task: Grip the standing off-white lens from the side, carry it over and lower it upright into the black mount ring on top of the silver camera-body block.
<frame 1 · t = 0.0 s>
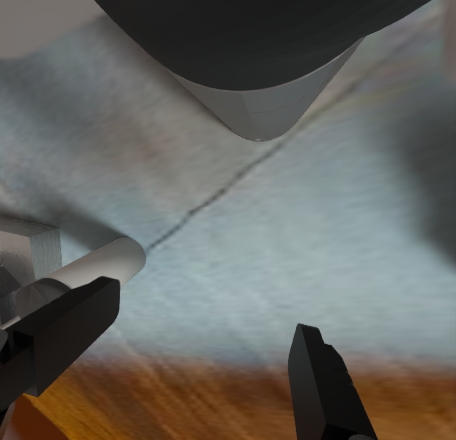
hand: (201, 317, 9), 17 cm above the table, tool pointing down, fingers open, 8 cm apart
camera body: (26, 276, 34), on the table
lens: (127, 255, 30), on the table
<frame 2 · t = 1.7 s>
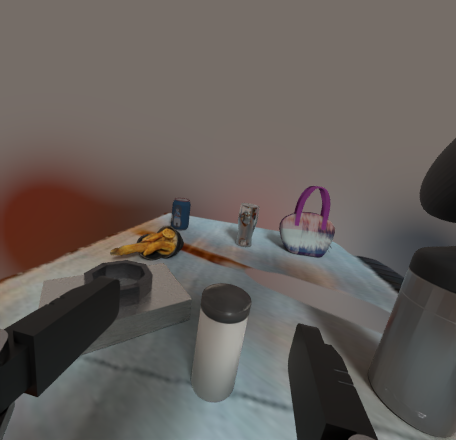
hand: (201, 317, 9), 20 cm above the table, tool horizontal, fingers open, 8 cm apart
handbag: (302, 251, 81), on the table
beer glass: (243, 244, 78), on the table
camera body: (118, 310, 36), on the table
lens: (212, 378, 27), on the table
fried food: (151, 257, 57), on the table
soda can: (179, 228, 85), on the table
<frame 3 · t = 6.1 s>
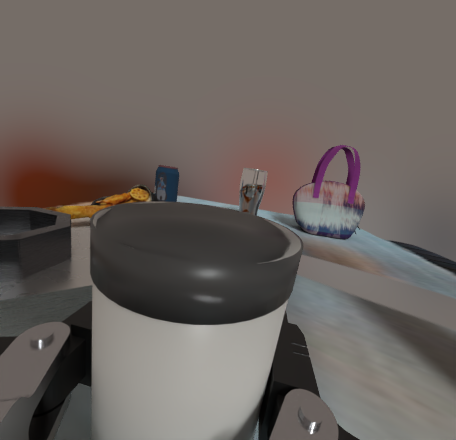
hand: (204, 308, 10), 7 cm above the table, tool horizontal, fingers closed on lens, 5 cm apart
handbag: (321, 233, 63), on the table
beer glass: (245, 223, 60), on the table
camera body: (3, 298, 18), on the table
fried food: (113, 229, 39), on the table
soda can: (165, 204, 68), on the table
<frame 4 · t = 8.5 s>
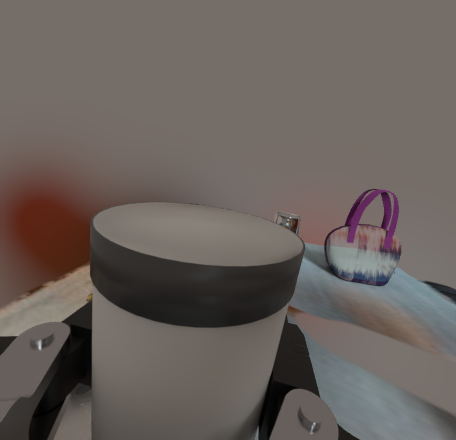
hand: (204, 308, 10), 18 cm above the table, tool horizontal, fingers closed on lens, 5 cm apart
handbag: (353, 276, 61), on the table
beer glass: (276, 267, 58), on the table
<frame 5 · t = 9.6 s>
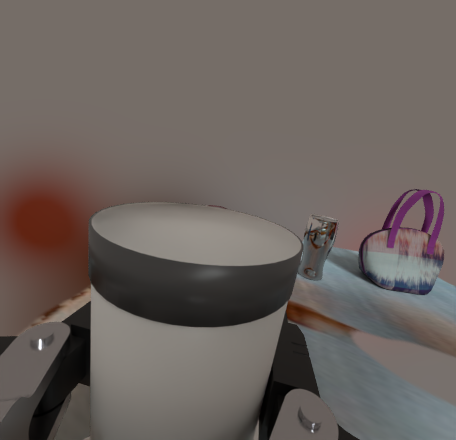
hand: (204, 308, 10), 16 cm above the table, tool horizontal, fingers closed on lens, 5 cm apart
handbag: (390, 283, 56), on the table
beer glass: (309, 275, 53), on the table
when the fingers open (12 cm above the table, at t = 10.8 s): lens drops 1 cm, resting on camera body.
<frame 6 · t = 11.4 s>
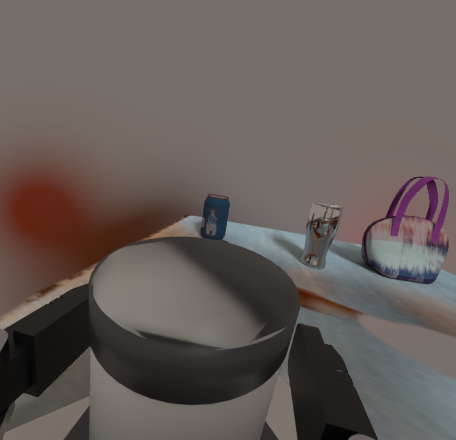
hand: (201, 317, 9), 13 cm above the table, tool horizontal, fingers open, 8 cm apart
handbag: (394, 273, 55), on the table
beer glass: (311, 263, 53), on the table
soda can: (212, 238, 60), on the table
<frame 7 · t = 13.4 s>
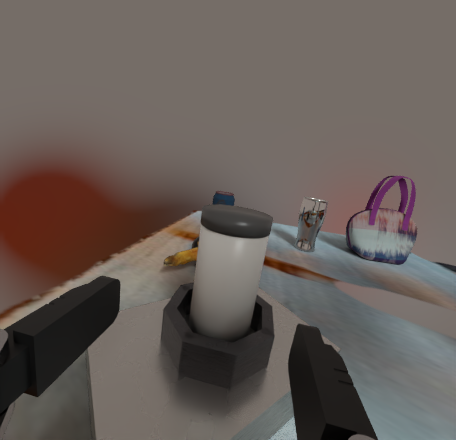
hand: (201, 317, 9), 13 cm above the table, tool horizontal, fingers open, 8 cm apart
handbag: (373, 256, 66), on the table
beer glass: (303, 248, 63), on the table
camera body: (211, 368, 21), on the table
lens: (217, 335, 20), point 4 cm above the table, touching camera body
fried food: (209, 267, 42), on the table
soda can: (219, 228, 70), on the table
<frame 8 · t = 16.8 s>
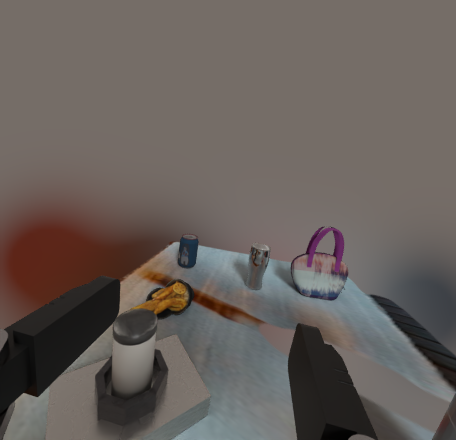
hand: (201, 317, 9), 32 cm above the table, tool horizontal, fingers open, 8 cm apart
handbag: (313, 291, 78), on the table
beer glass: (253, 285, 75), on the table
camera body: (131, 407, 33), on the table
lens: (132, 388, 32), point 4 cm above the table, touching camera body
fried food: (161, 314, 54), on the table
soda can: (186, 265, 83), on the table
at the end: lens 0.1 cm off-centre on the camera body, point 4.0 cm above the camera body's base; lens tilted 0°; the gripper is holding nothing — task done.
